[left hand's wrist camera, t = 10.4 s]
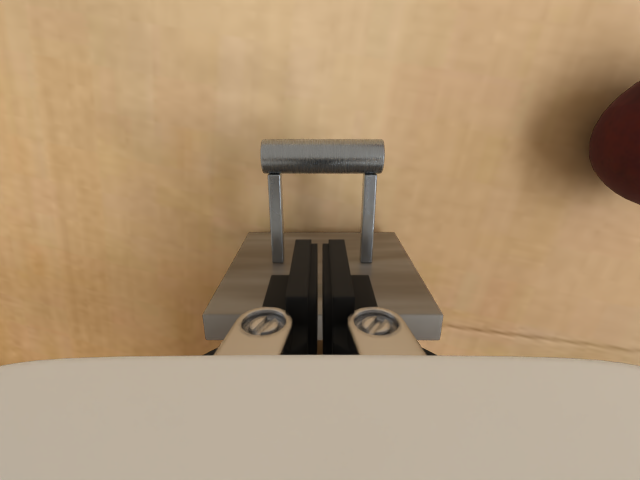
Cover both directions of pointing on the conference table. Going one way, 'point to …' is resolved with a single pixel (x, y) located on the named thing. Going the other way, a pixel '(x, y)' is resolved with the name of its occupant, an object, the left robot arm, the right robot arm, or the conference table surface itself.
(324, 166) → the drawer
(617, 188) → the potato
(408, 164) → the conference table surface
